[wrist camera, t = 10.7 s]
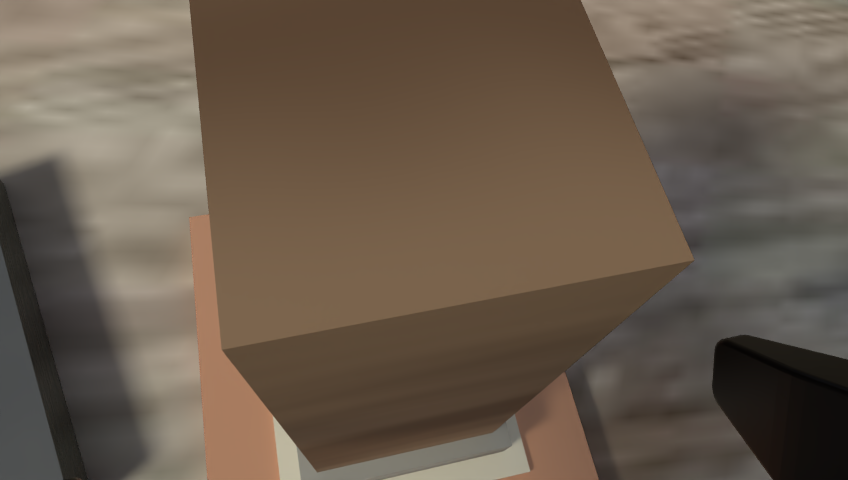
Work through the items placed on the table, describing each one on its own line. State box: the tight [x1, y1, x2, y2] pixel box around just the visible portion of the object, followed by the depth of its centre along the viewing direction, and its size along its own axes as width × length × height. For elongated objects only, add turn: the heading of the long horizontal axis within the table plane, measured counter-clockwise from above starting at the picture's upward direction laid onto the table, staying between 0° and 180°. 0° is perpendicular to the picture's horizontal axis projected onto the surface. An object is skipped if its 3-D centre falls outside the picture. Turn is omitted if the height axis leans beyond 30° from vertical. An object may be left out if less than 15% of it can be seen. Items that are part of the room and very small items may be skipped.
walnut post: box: [189, 0, 694, 480], centre depth 12 cm, size 5×5×12 cm
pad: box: [189, 214, 599, 480], centre depth 18 cm, size 12×10×1 cm
